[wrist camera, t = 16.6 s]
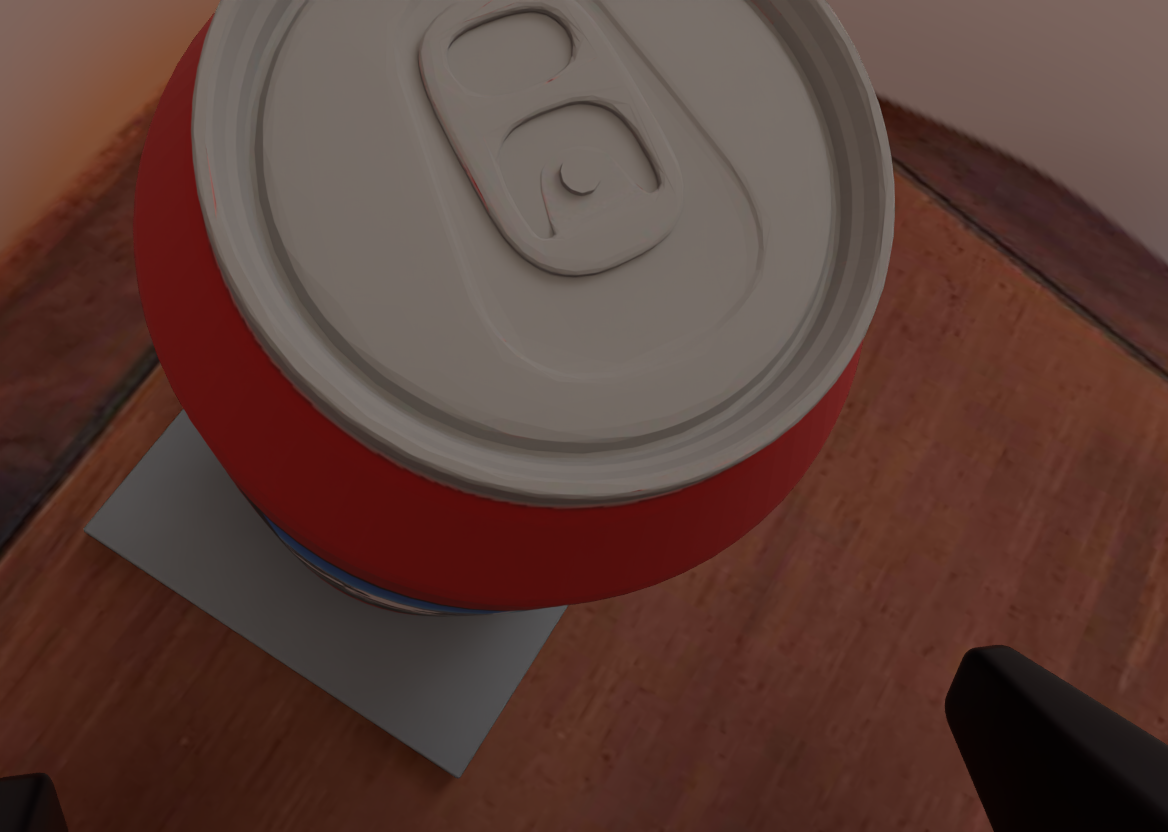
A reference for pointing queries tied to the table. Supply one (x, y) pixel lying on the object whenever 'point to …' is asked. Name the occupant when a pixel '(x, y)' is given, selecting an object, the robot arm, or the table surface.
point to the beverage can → (513, 279)
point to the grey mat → (316, 606)
